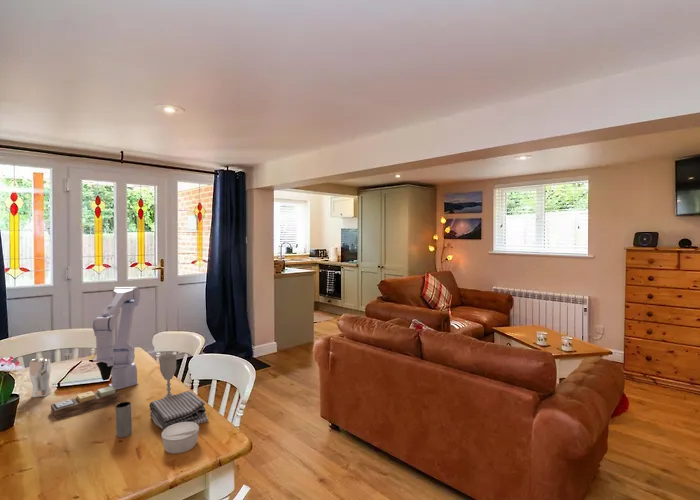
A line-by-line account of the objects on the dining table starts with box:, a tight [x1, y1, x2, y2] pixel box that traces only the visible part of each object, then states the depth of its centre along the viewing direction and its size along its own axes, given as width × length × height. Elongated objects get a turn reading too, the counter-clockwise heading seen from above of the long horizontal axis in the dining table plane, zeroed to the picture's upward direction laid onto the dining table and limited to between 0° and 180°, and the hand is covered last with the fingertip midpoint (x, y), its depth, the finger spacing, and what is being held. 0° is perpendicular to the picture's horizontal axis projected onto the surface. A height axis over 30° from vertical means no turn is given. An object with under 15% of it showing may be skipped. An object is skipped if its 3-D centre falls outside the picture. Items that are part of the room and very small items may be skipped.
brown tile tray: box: [50, 390, 120, 421], centre depth 152 cm, size 21×11×3 cm, turn 137°
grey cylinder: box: [114, 401, 133, 438], centre depth 131 cm, size 4×4×10 cm
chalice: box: [157, 353, 178, 398], centre depth 156 cm, size 7×7×18 cm
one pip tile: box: [96, 385, 115, 397], centre depth 157 cm, size 5×5×2 cm
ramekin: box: [161, 422, 200, 455], centre depth 124 cm, size 11×11×5 cm
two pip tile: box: [76, 390, 95, 403], centre depth 152 cm, size 5×5×2 cm
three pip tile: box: [54, 398, 74, 409], centre depth 147 cm, size 5×5×2 cm
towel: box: [149, 390, 209, 430], centre depth 141 cm, size 15×18×8 cm
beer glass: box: [28, 356, 52, 399], centre depth 162 cm, size 7×7×15 cm
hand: (105, 379), depth 157 cm, fingers closed
